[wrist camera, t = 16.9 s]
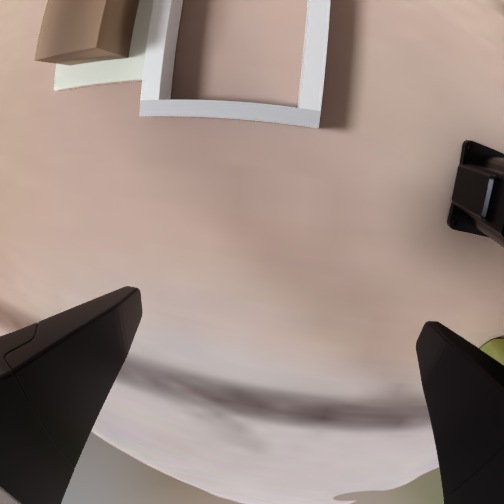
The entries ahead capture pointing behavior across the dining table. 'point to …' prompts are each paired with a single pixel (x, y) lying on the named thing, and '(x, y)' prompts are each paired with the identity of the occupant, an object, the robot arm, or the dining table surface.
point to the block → (86, 31)
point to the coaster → (111, 69)
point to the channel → (160, 105)
